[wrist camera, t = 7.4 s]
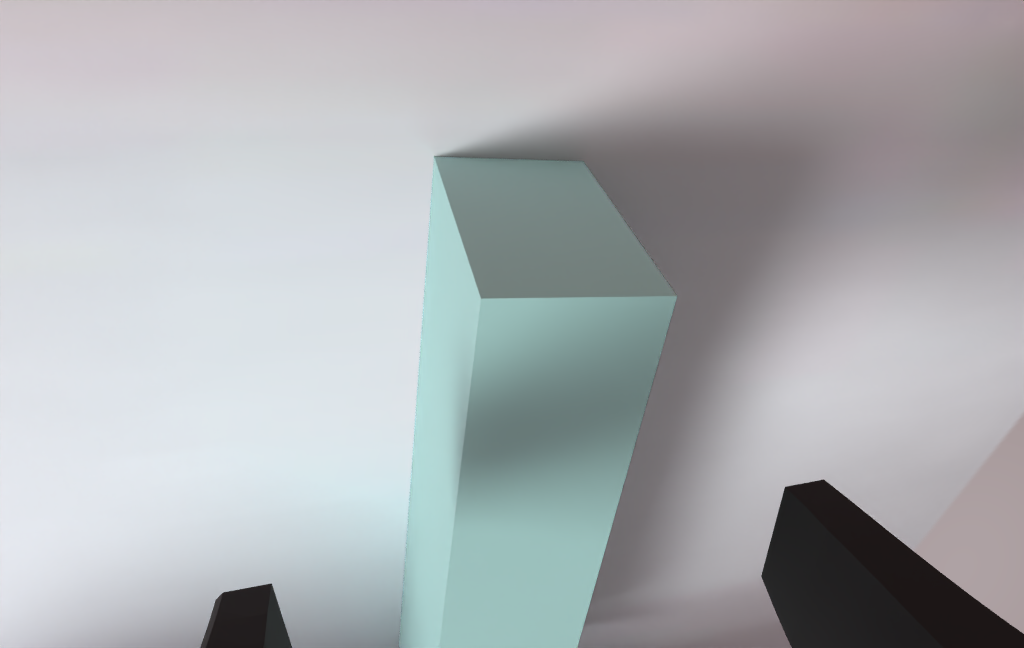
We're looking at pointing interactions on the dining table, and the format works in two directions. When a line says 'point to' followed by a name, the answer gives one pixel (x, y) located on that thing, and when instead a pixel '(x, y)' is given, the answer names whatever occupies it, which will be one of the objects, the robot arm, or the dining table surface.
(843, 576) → the robot arm
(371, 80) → the dining table surface
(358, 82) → the dining table surface
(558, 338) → the mint green rectangular block
